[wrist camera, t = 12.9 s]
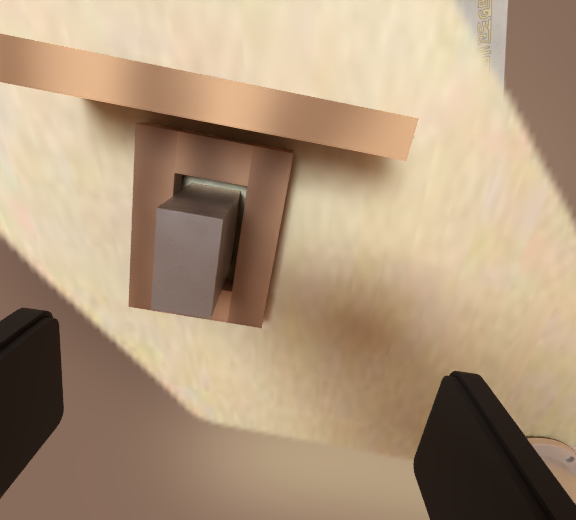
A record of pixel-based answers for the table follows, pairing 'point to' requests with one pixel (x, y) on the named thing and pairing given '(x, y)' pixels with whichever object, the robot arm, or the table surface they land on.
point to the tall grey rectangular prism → (193, 249)
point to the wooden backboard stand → (206, 149)
